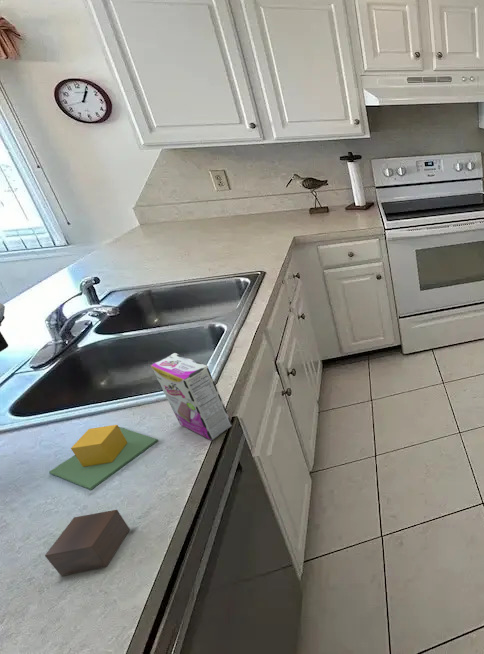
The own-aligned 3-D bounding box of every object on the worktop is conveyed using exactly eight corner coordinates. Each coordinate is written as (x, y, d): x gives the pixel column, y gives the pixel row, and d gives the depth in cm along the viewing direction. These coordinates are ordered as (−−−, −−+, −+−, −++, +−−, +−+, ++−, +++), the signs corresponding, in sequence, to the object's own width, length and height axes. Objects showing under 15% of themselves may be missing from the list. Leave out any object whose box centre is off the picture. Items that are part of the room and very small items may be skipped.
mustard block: (82, 467, 79) (70, 448, 77) (100, 446, 83) (88, 428, 81) (112, 462, 80) (100, 443, 78) (127, 442, 84) (117, 424, 82)
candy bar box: (178, 426, 89) (148, 365, 82) (201, 411, 93) (175, 351, 86) (211, 442, 84) (182, 379, 77) (234, 425, 88) (208, 364, 81)
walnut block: (61, 576, 62) (44, 555, 60) (88, 537, 67) (74, 517, 65) (106, 566, 63) (91, 546, 61) (130, 529, 68) (117, 509, 66)
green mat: (49, 473, 78) (48, 471, 78) (119, 428, 89) (118, 426, 88) (91, 490, 75) (89, 488, 75) (158, 440, 85) (157, 439, 85)
